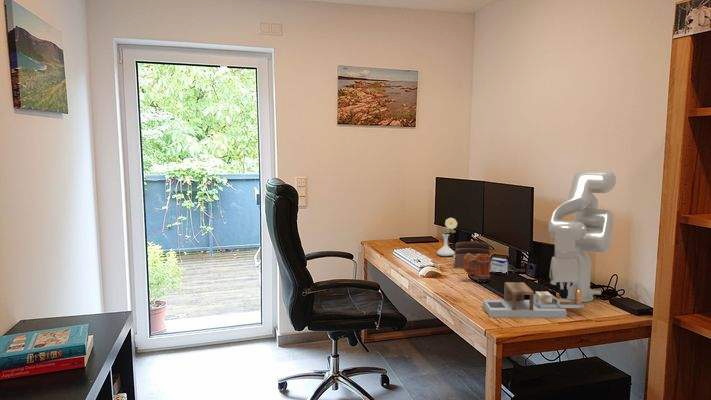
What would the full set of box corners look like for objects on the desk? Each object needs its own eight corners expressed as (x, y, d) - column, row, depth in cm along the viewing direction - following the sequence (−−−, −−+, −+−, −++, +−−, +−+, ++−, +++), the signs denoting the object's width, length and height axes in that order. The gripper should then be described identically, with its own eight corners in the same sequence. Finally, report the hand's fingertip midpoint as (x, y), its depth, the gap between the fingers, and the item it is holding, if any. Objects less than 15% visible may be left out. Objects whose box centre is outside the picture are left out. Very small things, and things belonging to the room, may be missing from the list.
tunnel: (523, 299, 192) (523, 282, 191) (533, 310, 179) (533, 291, 178) (504, 299, 192) (504, 282, 191) (512, 310, 179) (513, 291, 179)
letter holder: (455, 263, 269) (455, 240, 267) (489, 265, 264) (490, 242, 262) (454, 268, 259) (454, 244, 258) (490, 269, 254) (490, 245, 253)
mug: (488, 279, 234) (488, 251, 233) (493, 283, 226) (494, 254, 225) (460, 280, 234) (460, 251, 232) (464, 284, 226) (465, 255, 224)
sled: (576, 301, 188) (577, 287, 187) (585, 308, 180) (585, 293, 179) (532, 301, 189) (532, 286, 188) (538, 307, 181) (538, 292, 180)
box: (490, 274, 245) (490, 258, 244) (493, 272, 248) (493, 257, 247) (504, 276, 240) (504, 260, 239) (507, 274, 243) (508, 259, 242)
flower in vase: (435, 257, 287) (435, 218, 284) (437, 253, 297) (437, 216, 295) (456, 258, 283) (456, 219, 280) (457, 254, 294) (458, 216, 291)
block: (547, 303, 187) (547, 291, 187) (551, 307, 182) (552, 295, 182) (535, 303, 188) (535, 291, 187) (539, 307, 183) (539, 295, 182)
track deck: (554, 306, 191) (554, 300, 191) (566, 318, 178) (566, 310, 178) (482, 306, 193) (483, 299, 193) (489, 317, 180) (490, 310, 180)
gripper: (579, 252, 186) (578, 294, 188) (542, 252, 187) (541, 295, 189) (587, 256, 178) (586, 300, 180) (549, 257, 179) (548, 301, 181)
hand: (563, 297), depth 185 cm, fingers closed
